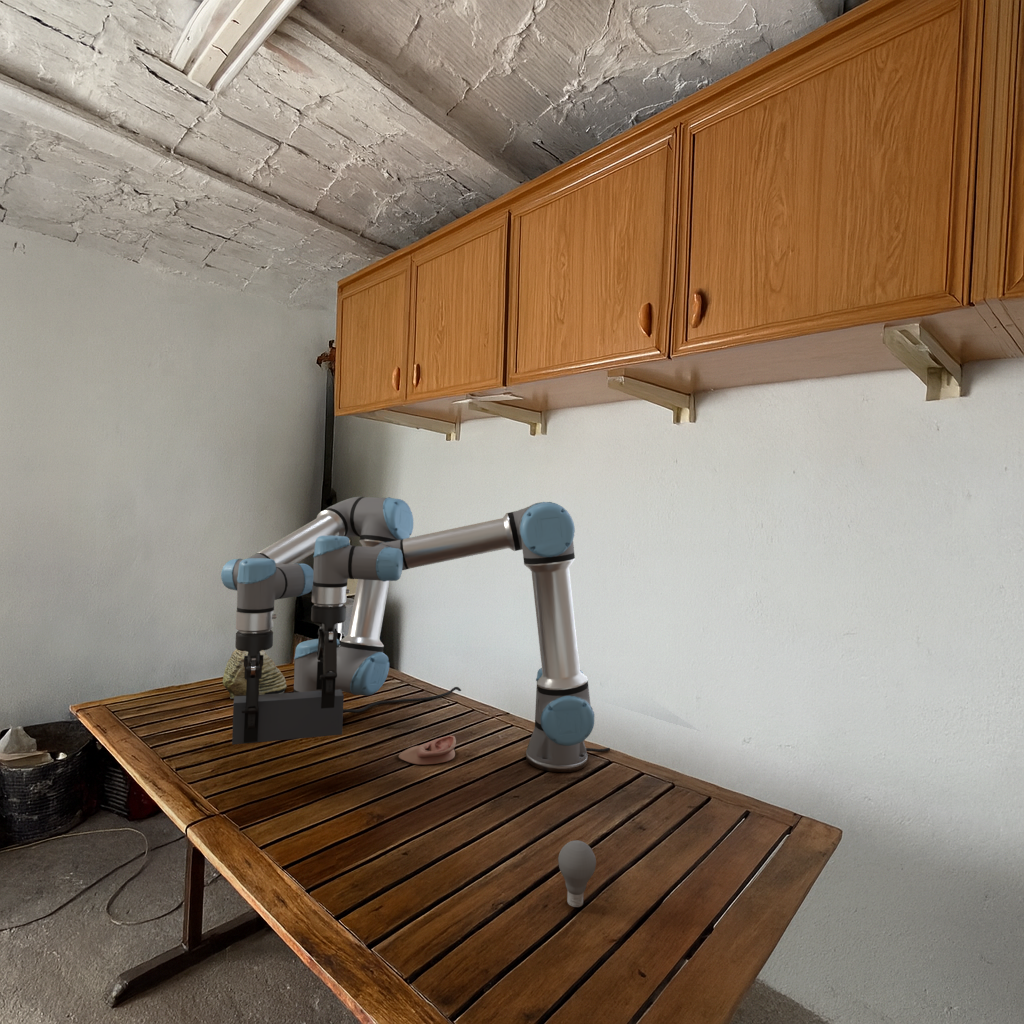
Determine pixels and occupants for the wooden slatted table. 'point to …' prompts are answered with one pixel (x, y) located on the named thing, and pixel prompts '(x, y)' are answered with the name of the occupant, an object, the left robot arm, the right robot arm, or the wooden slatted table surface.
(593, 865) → the light bulb
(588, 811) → the wooden slatted table surface
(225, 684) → the fossil
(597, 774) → the wooden slatted table surface
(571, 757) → the right robot arm
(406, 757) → the anatomical model
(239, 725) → the bar
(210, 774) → the wooden slatted table surface
